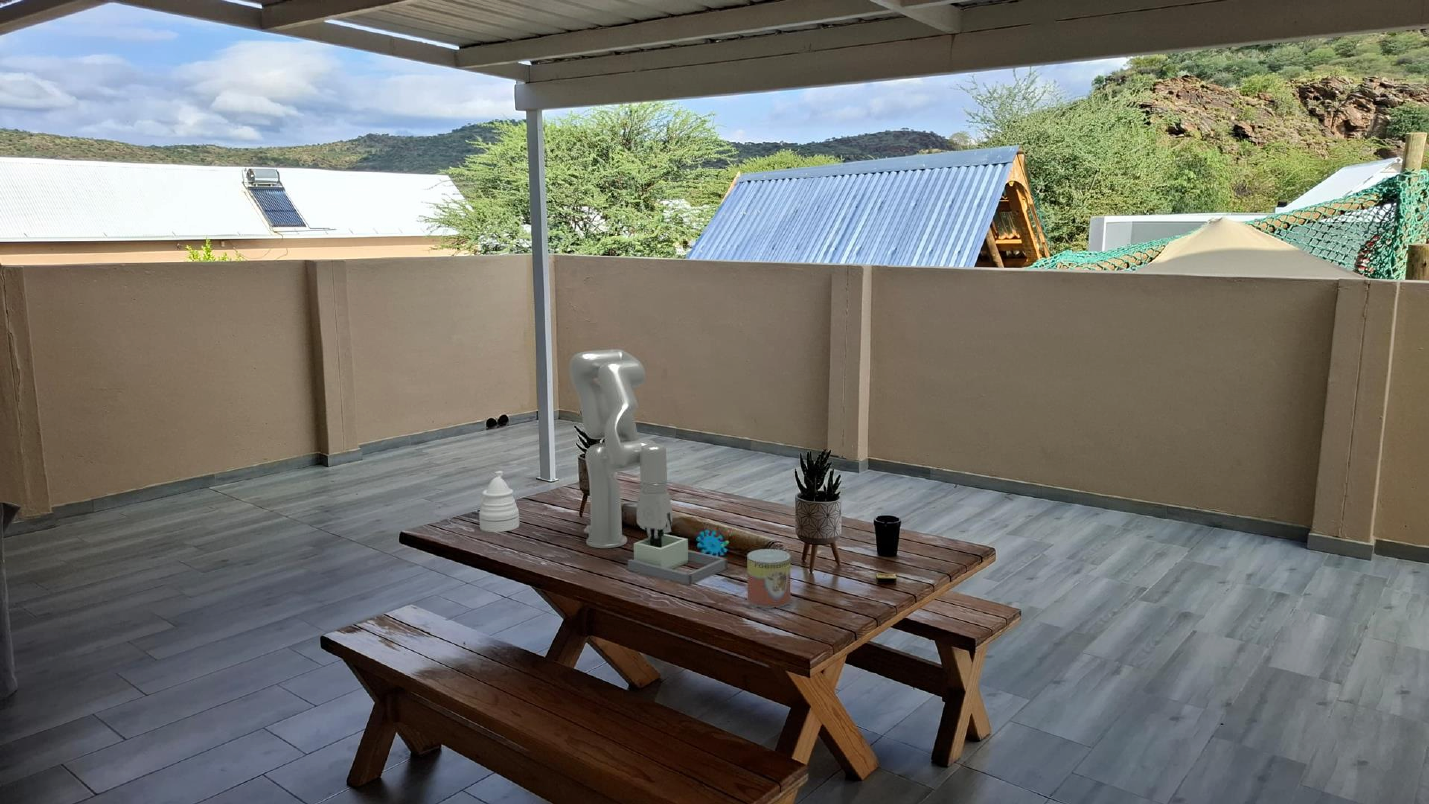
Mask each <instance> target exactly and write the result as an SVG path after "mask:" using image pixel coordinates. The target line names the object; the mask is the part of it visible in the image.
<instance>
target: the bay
mask: <svg viewBox="0 0 1429 804" xmlns="http://www.w3.org/2000/svg"><path fill="white" fill-rule="evenodd" d="M708 554H709V553H708ZM708 554H707V553H705V554H704V553H701V551H700V552H698V551H694V550H689V549H688V562H692V563H695V564H697V563H698V564H701V565H705V566H703V567H700V568H697V569H695V570H693V571H691V572H684V571H679V570H675V569H668V568H664V567H660V566H656V565H652V564H648V563H644V562H640V561H636V560H634V559H628V560H627V570H628V571H631V572H635V573H640V574H644V575H647V576H651V577H654V578H659V579H663V580H667V581H671V582H675V583H679V584H682V585H686V586H691V585H693V584H695V583H697V582H699V581H702V580H704V579H707V578H709V577H711V576H714V575H715V574H718V573H720V572H722V571H725V570H726V569H728V568H729V567H728V558H726V557H721V556H716V555H714V554H712V555H708Z"/></svg>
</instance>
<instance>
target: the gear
mask: <svg viewBox="0 0 1429 804" xmlns="http://www.w3.org/2000/svg"><path fill="white" fill-rule="evenodd" d="M709 533H710V530H708V529H705V530H704V531H700V532H699V533H698V535H699V536H697V537H696V539H695V540H696V541H697V542H698V543H697V545H696V547H697V548H698V549H701V550H700V553H704V554H707V553H708V555H714V556H717V557H719V555H720V556H724V555H725V554H726V553H727V551H728V548H725V547H727V546H728V545H729V543H730V541H729V540H725V541H722V540H723V539H724V538H723V536H722V535H721V534H720V535H719V534H718V536H717V537H715V536H716V535H717V532H716V531H714V530H713V531H711V534H709Z"/></svg>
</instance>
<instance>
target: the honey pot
mask: <svg viewBox="0 0 1429 804" xmlns="http://www.w3.org/2000/svg"><path fill="white" fill-rule="evenodd" d="M494 473H495V476H496V477H494V478H492V480H490V482H489V484H488V486H487V488H486V489H484V490H483V491H482V492H481V494H482V496H483V499H482V501H481V505H480V510H479V512H478V514H479V515H478V516H479V529H480V530H481V531H484V532H492V533H495V532H496V533H499V532H500V533H501V532H507V531H511V530H516V529H517V528H519V527H520V515H519V513H520V512H519V511H520V510H519V507H517V503H516V500H515V498H514V496H513V494H514V490H513V488H509V486H508V484H507V482H506V481H505V480H504V479H503V478H502V477H503V475H504V471H503V470H498V471H495V472H494Z"/></svg>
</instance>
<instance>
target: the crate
mask: <svg viewBox="0 0 1429 804" xmlns="http://www.w3.org/2000/svg"><path fill="white" fill-rule="evenodd" d="M688 550H689V539H688V538H685V537H678V536H676V535H670V534H668V533H664V535H663V536H662V548H658V547H654V546H650V537H647V538H644V539H642V540H639V541H636V542H634V543H633V560H636V561H640V562H644V563H648V564H652V565H656V566H660V567H664V568H668V569H672V570H675V569H676V568H679V567H681V566H683V565H685V564H688V563H689V561H688Z"/></svg>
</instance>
